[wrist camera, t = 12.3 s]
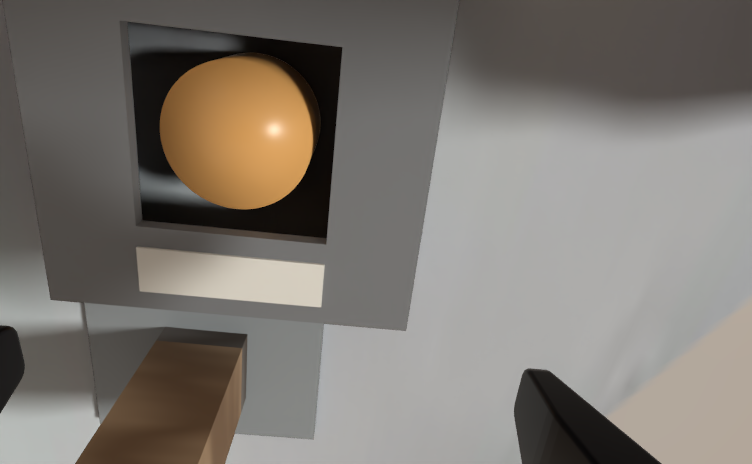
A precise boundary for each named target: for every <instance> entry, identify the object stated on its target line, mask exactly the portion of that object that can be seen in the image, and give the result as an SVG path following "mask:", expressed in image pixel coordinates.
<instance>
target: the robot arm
mask: <svg viewBox="0 0 752 464" xmlns="http://www.w3.org/2000/svg"><path fill="white" fill-rule="evenodd" d="M24 369H25V364H24V359H23V355H22V350H21V346H20V342H19V337H18V334H17V331H16V330H15V329H14V328H13V327H10V326H2V325H0V413H1V411H2V410H3V408H4V406H5V405H6V403H7V402H8V400H9V398H10V397H11V395H12V394H13V392H14V390H15V389H16V387H17V385H18V384H19V382H20V381H21V379H22V376H23V374H24ZM514 417H515V424H516V429H517V435H518V441H519V447H520V453H521V459H522V464H661V463H660V462H659V461H657V460H656V459H655V458H654V457H653V456H651V455H650V454H649V453H648V452H647V451H646V450H644V449H643V448H642V447H641V446H639V445H638V444H637V443H636V442H635V441H633V440H632V439H631V438H630V437H629V436H627V435H626V434H625V433H624V432H623V431H621V430H620V429H619V428H618V427H616V426H615V425H614V424H613V423H612V422H610V421H609V420H608V419H607V418H606V417H605V416H603V415H602V414H601V413H600V412H598V411H597V410H596V409H595V408H594V407H592V406H591V405H590V404H589V403H588V402H586V401H585V400H584V399H583V398H582V397H580V396H579V395H578V394H577V393H576V392H574V391H573V390H572V389H571V388H569V387H568V386H567V385H566V384H565V383H563V382H562V381H561V380H560V379H559V378H557V377H556V376H555V375H554V374H553V373H551V372H550V371H548V370H542V369H526V370H525V371H524V373H523V374H522V378H521V382H520V385H519V389H518V393H517V397H516V401H515V406H514Z"/></svg>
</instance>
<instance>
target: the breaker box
mask: <svg viewBox="0 0 752 464" xmlns="http://www.w3.org/2000/svg"><path fill="white" fill-rule="evenodd" d="M459 1H460V0H2V2H3V8H4V14H5V20H6V26H7V33H8V39H9V45H10V51H11V57H12V63H13V70H14V76H15V82H16V88H17V94H18V101H19V107H20V113H21V119H22V125H23V131H24V138H25V144H26V150H27V156H28V162H29V169H30V175H31V181H32V187H33V193H34V199H35V206H36V212H37V218H38V224H39V230H40V237H41V243H42V249H43V255H44V261H45V267H46V274H47V280H48V286H49V292H50V298H51V300H58V301H70V302H81V303H92V304H104V305H115V306H127V307H138V308H150V309H161V310H173V311H184V312H195V313H207V314H218V315H230V316H241V317H253V318H264V319H276V320H287V321H298V322H310V323H321V324H333V325H344V326H356V327H367V328H378V329H390V330H401V331H406V328H407V322H408V316H409V310H410V303H411V297H412V291H413V285H414V279H415V273H416V266H417V260H418V254H419V248H420V242H421V235H422V229H423V223H424V217H425V211H426V205H427V198H428V192H429V186H430V180H431V174H432V168H433V161H434V155H435V149H436V143H437V137H438V131H439V124H440V118H441V112H442V106H443V100H444V94H445V87H446V81H447V75H448V69H449V63H450V57H451V50H452V44H453V38H454V32H455V26H456V20H457V13H458V7H459ZM128 22H135V23H143V24H152V25H160V26H168V27H177V28H185V29H194V30H202V31H210V32H219V33H227V34H236V35H244V36H252V37H261V38H269V39H277V40H286V41H294V42H303V43H311V44H319V45H328V46H336V47H342V59H341V71H340V83H339V96H338V108H337V120H336V132H335V145H334V157H333V169H332V181H331V193H330V206H329V218H328V230H327V238H319V237H308V236H298V235H288V234H278V233H267V232H257V231H247V230H236V229H226V228H216V227H206V226H195V225H185V224H175V223H164V222H154V221H144V220H142V209H141V196H140V182H139V169H138V155H137V142H136V128H135V115H134V102H133V88H132V75H131V61H130V48H129V34H128Z"/></svg>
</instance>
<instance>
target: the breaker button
mask: <svg viewBox="0 0 752 464" xmlns="http://www.w3.org/2000/svg"><path fill="white" fill-rule="evenodd" d="M320 128H321V118H320V110H319V106H318V102H317V100H316V97H315V95H314V93H313V91H312V89H311V87H310V86H309V84H308V83H307V81H306V80H305V79H304V78H303V76H302V75H301V74H300V73H299V72H298V71H297V70H295V69H294V68H293V67H292V66H290V65H289V64H287V63H286V62H284V61H282V60H280V59H278V58H276V57H273V56H270V55H267V54H262V53H251V52H248V53H239V54H235V55H231V56H227V57H224V58H220V59H216V60H213V61H209V62H206V63H203V64H201V65H198V66H196V67H194V68H193V69H191V70H189V71H188V72H186V73H185V74H184V75H183V76H181V77H180V78H179V79H178V80H177V81H176V83H175V84H174V85H173V86H172V88H171V89H170V91H169V92H168V94H167V97H166V99H165V101H164V104H163V107H162V110H161V116H160V136H161V142H162V146H163V150H164V153H165V155H166V158H167V160H168V162H169V164H170V166H171V167H172V169H173V170H174V172H175V173H176V175H177V176H178V177H179V178H180V180H181V181H182V182H183V183H184V184H185V185H186V186H187V187H188V188H189V189H191V190H192V191H193V192H194V193H196V194H197V195H199V196H200V197H202V198H204V199H206V200H207V201H209V202H212V203H214V204H217V205H220V206H223V207H227V208H233V209H255V208H260V207H264V206H267V205H270V204H273V203H275V202H277V201H279V200H281V199H282V198H283V197H285V196H286V195H288V194H289V193H290V192H291V191H292V190H293V189H294V188H295V187H296V186H297V185H298V183H299V182H300V181H301V179H302V177H303V176H304V174H305V172H306V170H307V167H308V165H309V163H310V160H311V158H312V155H313V153H314V150H315V148H316V145H317V143H318V139H319V135H320Z"/></svg>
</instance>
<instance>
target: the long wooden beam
mask: <svg viewBox="0 0 752 464" xmlns="http://www.w3.org/2000/svg"><path fill="white" fill-rule="evenodd" d="M247 335H248V334H240V333H229V332H218V331H207V330H196V329H185V328H174V327H165V328H164V329H163V331H162V332H161V334H160V335H159V337H158V338H157V340H156V341H155V343H154V344H153V346H152V347H151V349H150V350H149V352H148V353H147V355H146V357H145V358H144V360H143V361H142V363H141V364H140V366H139V367H138V369H137V370H136V372H135V373H134V375H133V376H132V378H131V379H130V381H129V382H128V384H127V385H126V387H125V389H124V390H123V392H122V393H121V395H120V396H119V398H118V399H117V401H116V402H115V404H114V405H113V407H112V408H111V410H110V411H109V413H108V414H107V416H106V417H105V419H104V420H103V422H102V424H101V425H100V427H99V428H98V430H97V431H96V433H95V434H94V436H93V437H92V439H91V440H90V442H89V443H88V445H87V446H86V448H85V449H84V451H83V452H82V454H81V455H80V457H79V459H78V460H77V462H76V463H75V464H225V462H226V458H227V455H228V452H229V449H230V446H231V443H232V440H233V437H234V434H235V430H236V427H237V424H238V421H239V418H240V415H241V412H242V409H243V406H244V402H245V399H246V377H247Z"/></svg>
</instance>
